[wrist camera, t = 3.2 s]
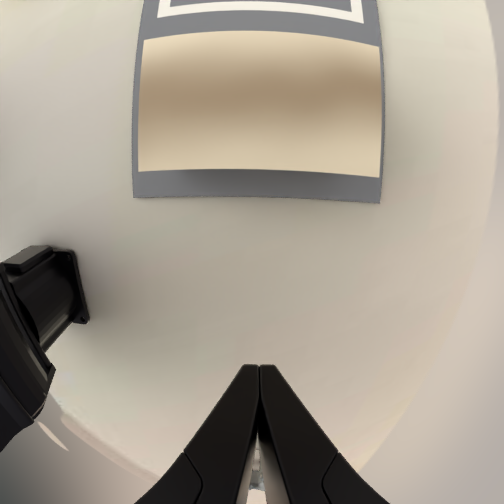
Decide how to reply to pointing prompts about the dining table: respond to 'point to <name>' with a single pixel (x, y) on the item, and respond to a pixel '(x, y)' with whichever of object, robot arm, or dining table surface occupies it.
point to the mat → (257, 19)
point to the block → (260, 103)
